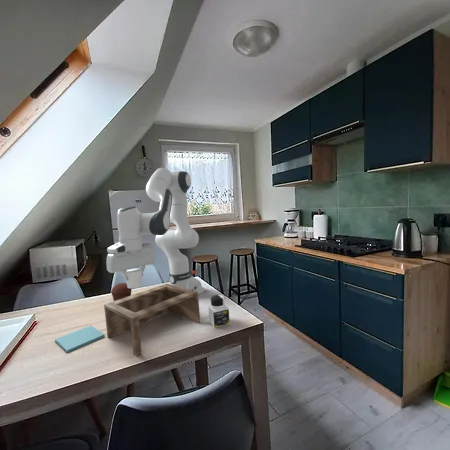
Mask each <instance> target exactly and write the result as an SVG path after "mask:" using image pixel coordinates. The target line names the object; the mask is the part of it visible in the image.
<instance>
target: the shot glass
mask: <svg viewBox="0 0 450 450" xmlns="http://www.w3.org/2000/svg"><path fill="white" fill-rule="evenodd" d="M125 274H126V275H127V276H128V280H127V281H126V284H127V286H128V288H132V289H137V288H141V287H142V285H143V281H142V280H143V276H142V269H141V268H140V267H135V268H131V269H127V270H126V273H125Z"/></svg>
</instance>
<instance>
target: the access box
mask: <svg viewBox="0 0 450 450" xmlns="http://www.w3.org/2000/svg"><path fill="white" fill-rule="evenodd" d="M199 300H200V299H199V295H198V292H197V291H193V290H189V289H185V288H181V287H177V286H174V285H170V284H169V283H164V284H161V285H158V286H156V287H153V288H150V289H147V290H144V291H141V292H137V293H135V294H131V296H128V297H125V298H122V299H119V300H116V301H114V300H113V301H110V302H107V303H105V304H103V307H104V317H105V318H104V319H105V328H106V334H107V335H106V336H107V338H108V339H110V338H112V337H115V336H117V335H119V334H122V333H124V332H126V331H129V330H130V332H131V341H132V354H133V355H134V356H135V357H138V355H139V356H141V355H142V344H141V334H140V333H141V332H140V326H141V325H143V324H145V323H147V322H149V321H152V320H154V319H156V318H158V317H160V316H162V315H165V314H167V313H169V314H173V315H175V316H177V317H180V318H183V319H185V320H188V321H191V322H193V323H196V324H201V315H200V314H201V313H200V303H199V302H200V301H199Z"/></svg>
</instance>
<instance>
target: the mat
mask: <svg viewBox="0 0 450 450" xmlns="http://www.w3.org/2000/svg"><path fill="white" fill-rule="evenodd" d="M104 338H105V334H104V333H103V332H102V331H100V330H98V329H97V328H95V327H94V326H92V325H89V326H86V327H82V328H81V329H78V330H75V331H73V332H69V333H67V334H64V335H61V336H60V337H57V338H55V339H54V340H55V341H54V342H55V343H56V344H57V345H58V346H59V347H61V349H62V350H63V351H64V352H65V353H67V354H68V353H71V352H72V351H75V350H77V349H80V348H82V347H85V346H86V345H89V344H91V343H93V342H96V341H98V340H100V339H104Z"/></svg>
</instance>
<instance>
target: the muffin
mask: <svg viewBox="0 0 450 450" xmlns="http://www.w3.org/2000/svg"><path fill="white" fill-rule="evenodd" d="M132 289H133V288H128V286H127V282H119V283H116V284H115V285H114V286H113V287H112V289H111V290H110V293H111V297H112V299H113V301H116V300H119V299H122V298H125V297H128V296H131V295H132Z"/></svg>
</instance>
